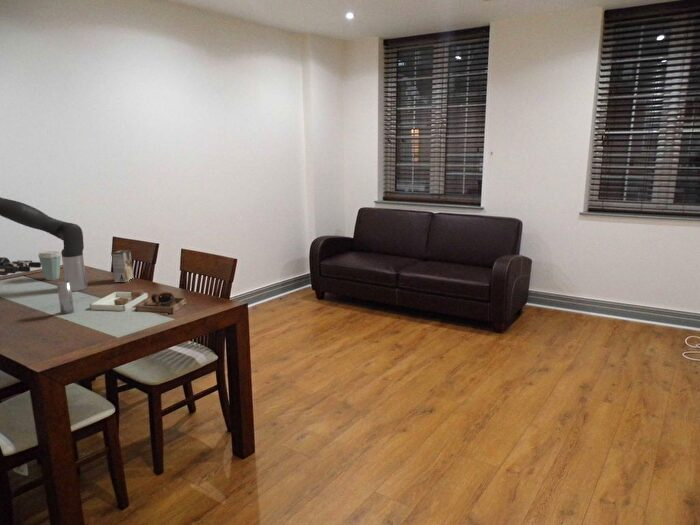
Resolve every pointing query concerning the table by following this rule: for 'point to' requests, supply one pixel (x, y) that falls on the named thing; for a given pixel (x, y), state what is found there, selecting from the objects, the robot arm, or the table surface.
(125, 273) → the coffee box
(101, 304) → the tray
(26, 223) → the robot arm
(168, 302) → the pottery mug
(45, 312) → the table surface
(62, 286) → the part cylinder
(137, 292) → the walnut block
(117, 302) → the walnut block
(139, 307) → the brown wooden tray
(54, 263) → the disposable coffee cup
